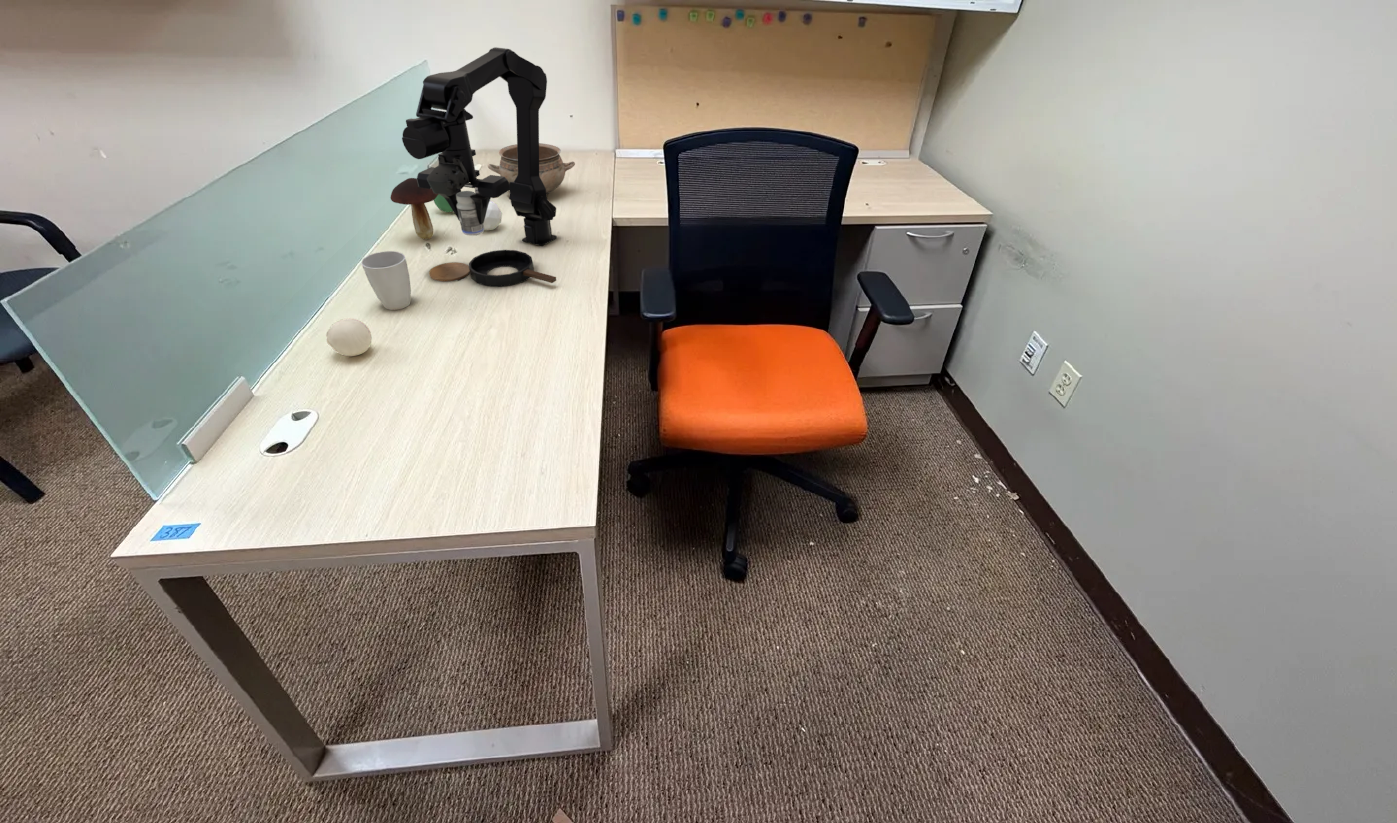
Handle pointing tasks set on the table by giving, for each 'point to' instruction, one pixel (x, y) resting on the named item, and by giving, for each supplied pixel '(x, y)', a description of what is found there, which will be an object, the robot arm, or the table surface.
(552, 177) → the cooking pot
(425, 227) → the decorative mushroom
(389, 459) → the table surface
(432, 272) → the disc
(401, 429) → the table surface
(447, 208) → the alien toy
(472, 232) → the pill bottle
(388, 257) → the cup
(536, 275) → the pan
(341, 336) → the cream oval shape
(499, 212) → the ball
